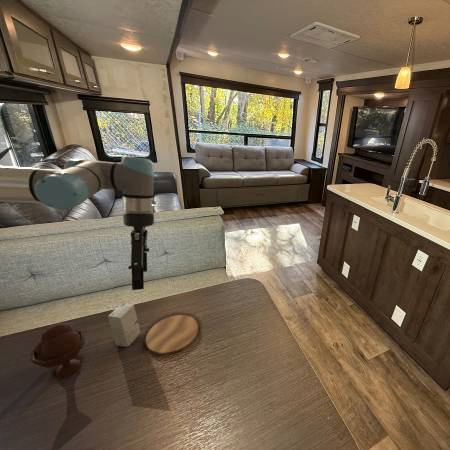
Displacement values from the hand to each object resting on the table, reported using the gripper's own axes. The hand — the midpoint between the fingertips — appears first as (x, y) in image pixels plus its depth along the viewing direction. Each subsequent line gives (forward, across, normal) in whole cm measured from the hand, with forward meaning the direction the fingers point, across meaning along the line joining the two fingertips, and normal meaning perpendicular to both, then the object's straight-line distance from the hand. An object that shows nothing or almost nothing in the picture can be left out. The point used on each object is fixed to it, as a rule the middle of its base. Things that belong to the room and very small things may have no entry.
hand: (140, 279), depth 76 cm
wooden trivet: (+21, +1, -9) cm, 23 cm away
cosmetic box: (+22, +4, +4) cm, 23 cm away
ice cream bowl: (+25, -1, +18) cm, 31 cm away
